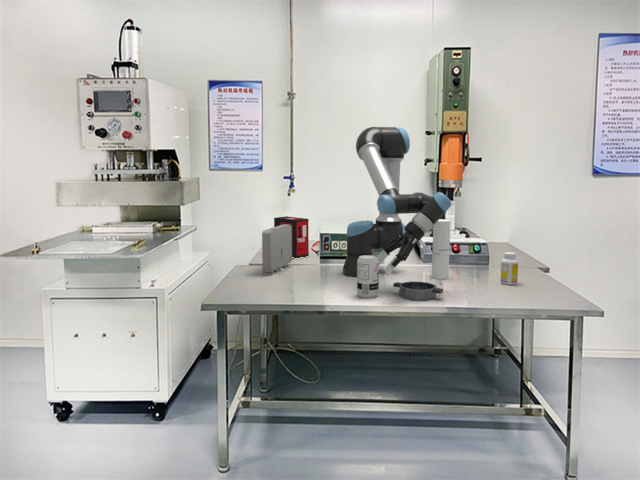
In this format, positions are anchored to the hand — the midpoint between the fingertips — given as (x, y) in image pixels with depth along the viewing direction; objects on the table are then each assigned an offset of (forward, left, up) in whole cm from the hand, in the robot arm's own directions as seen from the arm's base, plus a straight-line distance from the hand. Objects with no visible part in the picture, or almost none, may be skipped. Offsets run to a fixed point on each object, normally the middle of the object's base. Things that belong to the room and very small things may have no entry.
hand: (379, 268), depth 207 cm
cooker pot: (+12, +8, -11) cm, 18 cm away
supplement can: (-4, -2, -11) cm, 12 cm away
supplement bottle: (+35, +48, -11) cm, 61 cm away
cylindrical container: (+7, +43, -11) cm, 45 cm away
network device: (-61, +15, -11) cm, 64 cm away
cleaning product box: (-77, +47, -11) cm, 91 cm away
